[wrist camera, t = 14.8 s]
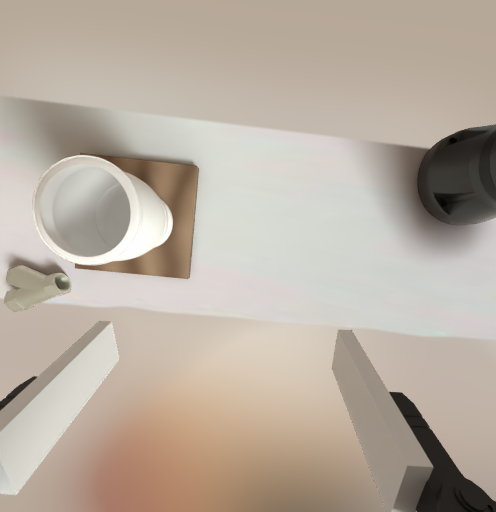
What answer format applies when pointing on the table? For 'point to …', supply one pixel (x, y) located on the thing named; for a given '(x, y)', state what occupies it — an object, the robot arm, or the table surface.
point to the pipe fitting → (33, 287)
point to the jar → (98, 212)
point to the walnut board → (183, 213)
